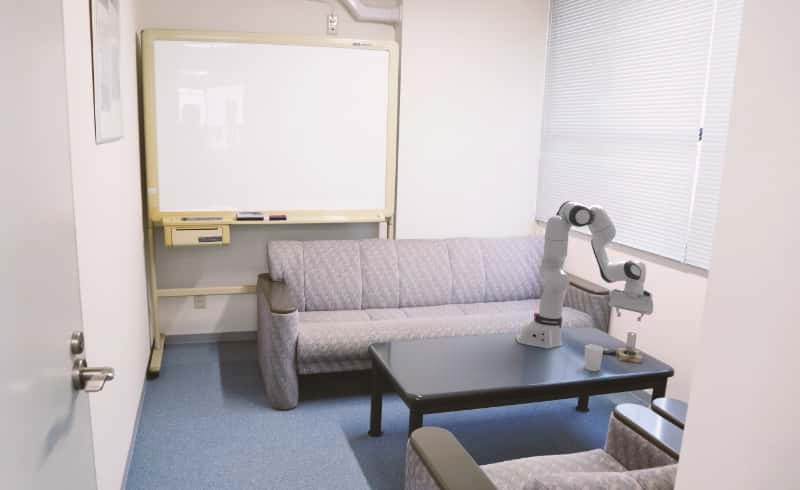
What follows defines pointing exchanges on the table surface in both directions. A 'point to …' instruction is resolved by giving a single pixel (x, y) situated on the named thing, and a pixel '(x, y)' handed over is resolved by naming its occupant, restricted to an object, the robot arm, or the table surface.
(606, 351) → the pin
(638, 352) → the socket block
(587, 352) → the white cup
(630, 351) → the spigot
